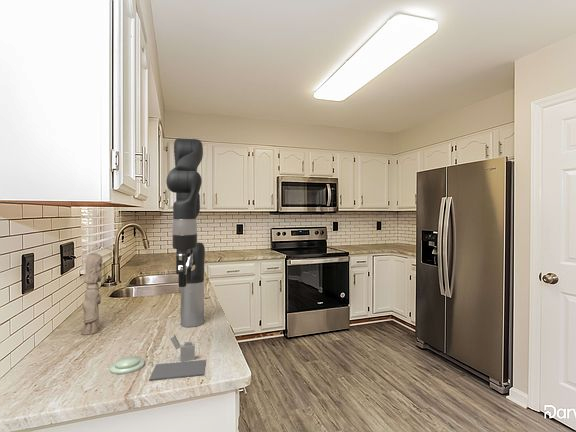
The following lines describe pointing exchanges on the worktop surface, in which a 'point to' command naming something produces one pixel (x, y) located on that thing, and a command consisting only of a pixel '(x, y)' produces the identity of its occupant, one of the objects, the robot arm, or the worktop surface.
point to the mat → (178, 370)
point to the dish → (127, 365)
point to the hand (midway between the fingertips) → (185, 283)
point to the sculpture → (92, 294)
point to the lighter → (184, 349)
